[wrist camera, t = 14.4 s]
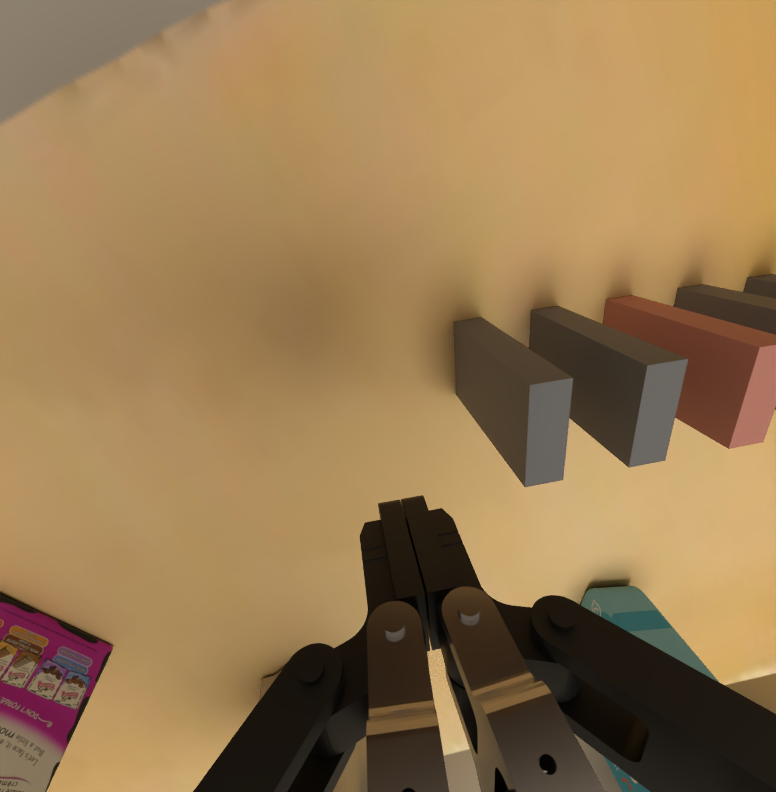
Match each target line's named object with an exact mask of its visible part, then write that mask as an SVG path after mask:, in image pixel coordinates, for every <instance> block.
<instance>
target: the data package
mask: <svg viewBox="0 0 776 792" xmlns="http://www.w3.org/2000/svg"><path fill="white" fill-rule="evenodd" d="M581 606H583V607H585V608H586V609H588V610H590V611H592V612H594V613H595V614H597V615H599V616H601V617H603V618H604V619H606V620H608V621H610V622H611V623H613V624H615V625H617V626H619V627H620V628H622V629H624V630H626V631H628V632H629V633H631V634H633V635H635V636H637V637H638V638H640V639H642V640H644V641H646V642H647V643H649V644H651V645H653V646H655V647H656V648H658V649H660V650H662V651H663V652H665V653H667V654H669V655H671V656H672V657H674V658H676V659H678V660H680V661H681V662H683V663H685V664H687V665H689V666H690V667H692V668H694V669H696V670H698V671H699V672H701V673H703V674H705V675H707V676H708V677H710V678H712V679H714V680H715V681H717V682H719V681H718V680H717V679H716V678H715V677H714V676H713V674H712V673H711V672H710V671H709V670H708V668H707V667H706V666H705V665H704V664H703V663H702V661H701V660H700V659H699V658H698V657H697V655H696V654H695V653H694V652H693V651H692V649H691V648H690V647H689V646H688V645H687V644H686V642H685V641H684V640H683V639H682V638H681V636H680V635H679V634H678V633H677V632H676V631H675V629H674V628H673V627H672V626H671V625H670V623H669V622H668V621H667V620H666V619H665V618H664V616H663V615H662V614H661V613H660V612H659V610H658V609H657V608H656V607H655V606H654V604H653V603H652V602H651V601H650V600H649V599H648V597H647V596H646V595H645V594H644V593H643V592H642V591H641V590H640V589H639V588H637V587H635V586H620V587H604V588H591V589H589V590H588V591H587V592H586V594H585V596H584V598H583V601H582V603H581ZM605 759H606V761H607V763H608V765H609V767H610V769H611V770H612V773H613V774H614V776H615V778H616V780H617V782H618V784H619V786H620V788H621V790H622V792H650V791H649V790H647V789H646V788H645V787H644V786H642V785H641V784H640V783H638V782H637V781H636V780H634V779H633V778H632V777H630V776H629V775H628V774H627V773H625V772H624V771H623V770H621V769H620V768H619V767H617V766H616V765H615V764H613V763H612V762H611V761H610V760H608V759H607V758H606V757H605Z"/></svg>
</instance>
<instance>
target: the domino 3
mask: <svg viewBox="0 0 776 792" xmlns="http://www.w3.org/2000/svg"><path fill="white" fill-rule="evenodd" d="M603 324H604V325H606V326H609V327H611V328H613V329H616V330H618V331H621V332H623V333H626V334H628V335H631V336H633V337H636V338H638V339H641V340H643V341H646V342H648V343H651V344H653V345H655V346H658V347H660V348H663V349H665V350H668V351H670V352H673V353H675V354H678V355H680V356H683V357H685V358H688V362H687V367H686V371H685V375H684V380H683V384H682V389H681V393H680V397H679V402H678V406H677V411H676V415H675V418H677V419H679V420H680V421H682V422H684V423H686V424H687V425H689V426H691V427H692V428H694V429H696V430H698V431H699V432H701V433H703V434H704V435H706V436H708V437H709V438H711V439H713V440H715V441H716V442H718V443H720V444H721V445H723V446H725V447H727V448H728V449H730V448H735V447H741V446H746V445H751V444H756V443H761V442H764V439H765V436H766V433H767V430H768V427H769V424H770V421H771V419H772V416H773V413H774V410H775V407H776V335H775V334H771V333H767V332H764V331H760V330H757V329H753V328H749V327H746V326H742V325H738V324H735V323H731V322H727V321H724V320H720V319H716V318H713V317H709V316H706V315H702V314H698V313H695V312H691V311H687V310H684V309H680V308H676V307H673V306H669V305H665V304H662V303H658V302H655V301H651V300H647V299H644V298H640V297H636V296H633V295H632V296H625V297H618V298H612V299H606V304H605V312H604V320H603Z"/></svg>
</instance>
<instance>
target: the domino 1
mask: <svg viewBox="0 0 776 792" xmlns="http://www.w3.org/2000/svg"><path fill="white" fill-rule="evenodd" d="M454 347H455V373H456V395H457V396H458V398H459V399H460V400H461V402H462V403H463V405H464V406H465V407H466V409H467V410H468V411H469V413H470V414H471V415H472V417H473V418H474V419H475V421H476V422H477V423H478V425H479V426H480V427H481V429H482V430H483V431H484V433H485V434H486V435H487V437H488V438H489V440H490V441H491V442H492V444H493V445H494V446H495V448H496V449H497V450H498V452H499V453H500V454H501V456H502V457H503V458H504V460H505V461H506V462H507V464H508V465H509V466H510V468H511V469H512V470H513V472H514V473H515V475H516V476H517V477H518V479H519V480H520V481H521V483H522V484H523V485H524V487H529V486H534V485H539V484H544V483H550V482H555V481H560V480H563V476H564V465H565V455H566V445H567V435H568V425H569V415H570V405H571V395H572V384H573V377H571V376H569V375H568V374H566V373H565V372H563V371H562V370H560V369H559V368H557V367H556V366H554V365H553V364H551V363H550V362H548V361H547V360H545V359H544V358H542V357H541V356H539V355H538V354H536V353H535V352H533V351H532V350H530V349H529V348H527V347H526V346H524V345H523V344H521V343H520V342H518V341H517V340H515V339H513V338H512V337H510V336H509V335H507V334H506V333H504V332H503V331H501V330H500V329H498V328H497V327H495V326H494V325H492V324H491V323H489V322H488V321H486V320H485V319H483V318H475V319H468V320H462V321H455V322H454Z"/></svg>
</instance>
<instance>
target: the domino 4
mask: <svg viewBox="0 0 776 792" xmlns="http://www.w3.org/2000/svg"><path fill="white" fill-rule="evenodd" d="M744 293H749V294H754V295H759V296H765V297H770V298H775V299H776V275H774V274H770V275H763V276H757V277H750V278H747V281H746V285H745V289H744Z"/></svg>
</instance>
